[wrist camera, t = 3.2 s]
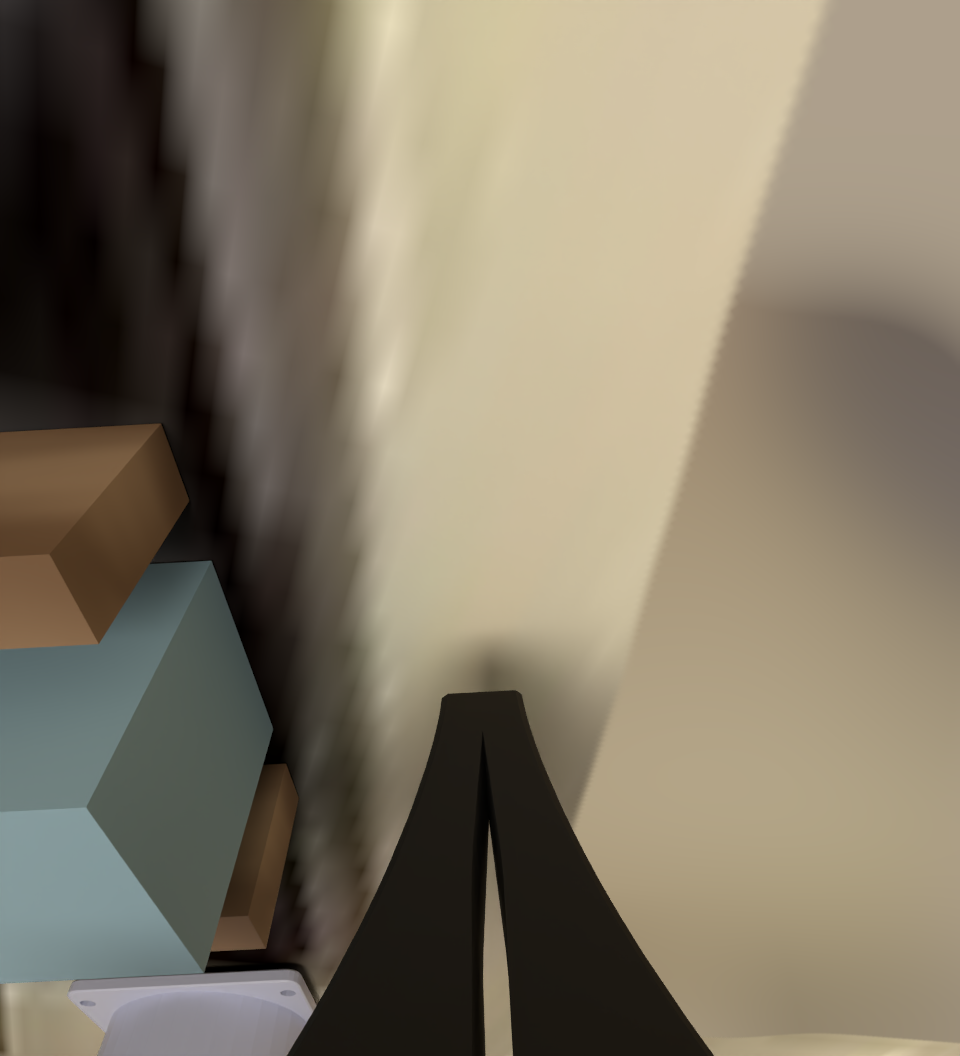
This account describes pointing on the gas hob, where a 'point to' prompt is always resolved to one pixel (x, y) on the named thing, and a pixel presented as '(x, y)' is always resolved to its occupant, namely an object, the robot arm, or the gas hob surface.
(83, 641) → the chute
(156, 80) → the gas hob surface
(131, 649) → the block
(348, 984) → the robot arm
